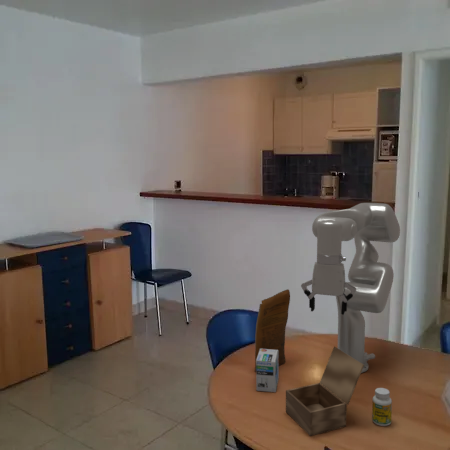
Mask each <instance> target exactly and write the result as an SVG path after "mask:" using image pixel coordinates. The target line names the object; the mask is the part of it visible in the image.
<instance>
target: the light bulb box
mask: <svg viewBox="0 0 450 450" xmlns="http://www.w3.org/2000/svg"><path fill="white" fill-rule="evenodd" d="M279 368H280V365H279V351H278V350H272V349H260V350H259V353H258V356H257V359H256V372H255V375H256V376H255V377H256V378H255V379H256V381H255V382H256V384H255V387H256V388H255V389H256V392H257V391H258V392H269V393H276V392H277V389H278V388H277V387H278V384H279V379H280V378H279V377H280V376H279V373H280V372H279Z"/></svg>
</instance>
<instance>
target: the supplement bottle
mask: <svg viewBox="0 0 450 450" xmlns="http://www.w3.org/2000/svg"><path fill="white" fill-rule="evenodd" d="M390 393H391V392H390V390H389V389H388V388H384V387H376V388H375V390H374V396H373V397H372V411H371V415H372V417H371V419H372V423H374V424H375V425H377V426H382V427H388V426H390V425H391V424H392V414H393V413H392V407H393V405H392V404H393V400H392V398H391V397H390V395H391V394H390Z"/></svg>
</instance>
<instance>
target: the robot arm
mask: <svg viewBox="0 0 450 450" xmlns="http://www.w3.org/2000/svg"><path fill="white" fill-rule="evenodd" d="M312 222H313V223H312V226H311V228H312V229H311V230H312V234H313V236H315V238H316V240H317V241H316V261H315V262H314V266H313V271H312V279H311V280H307V281H306V282H303V283H301V285H300V287H301V288H302V291H303V293H304V294H305V295H306V297H307V299H308V300H309V301H308V303H309V305H308V306H309V307H308V308H309V309H310V312H314V311H315V309H316V297H315V295H320V296H331V297H332V296H334V297H335V301H336V307H337V348H338V349H340V350H341V351H343V352H344V353H346V354H348V355H349V356H351V357H352V358H354V359H356V360H357V361H359V362H360V363H362V364H364V367H363V370H362V372H361V374H362V373H365V372H367V371H368V370H369V363H368V361H369V360H373V359H374V360H375V358H376V355H375V354H374V353H368V352H367V351H365V344H366V343H365V341H366V340H365V339H366V338H365V337H366V321H365V320H366V319H365V316H364V315H363V313H362V312H365V313H370V314H371V313H373V314H380V313H382V312H384V310H385V308H386V305H387V303H388V299H389V296H390V292H391V289H392V287H393V282H394V274H395V273H394V269H393V267H392V266H391V264H388V263H386V262H379V253H378V251H377V249H376V247H375V246H374V245H373V244H372V243H371V242H378V243H379V242H380V243H390V244H391V243H395V242H397V241H398V240H399V239H400V236H401V226H400V223H399V220H398V219H397V216H396V212H395V211H394V209H393V207H392V206H390V205H389V204H388V203H382V202H381V203H380V202H379V203H377V202H360V203H357V204H356V205H353V206H352V207H350V208H346V209H340V210H333V211H328V212H324V213H322V214H319V215H318V216H317V217H315V218H314V220H313V221H312ZM351 240H354V245H355V254H354V257H353V259H352V261H351V264H350V266H349V269H348V274H347V278H348V281H346V273H345V271H346V270H345V264H344V263H343V262H346V261H347V257H346V256H343V255H342V242H349V241H351ZM309 286H311V291H310V290H309V289H308V287H309Z"/></svg>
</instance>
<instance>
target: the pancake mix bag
mask: <svg viewBox="0 0 450 450" xmlns="http://www.w3.org/2000/svg"><path fill="white" fill-rule="evenodd" d="M290 303H291V292H290V289H289V288H288V289H284V290H282V291H280V292H278V293H276V294H274V295H273V296H270V297H267V298H264V299H263V300H261V303H259V308H258V311H257V318H256V324H255V336H254V341H255V342H254V345H255V346H254V347H255V348H254V350H255V351H254V363H255V365H254V366H255V367H254V372H255V373H256V359H257V356H258V353H259V350H260V349H272V350H278V351H279V366H281V365H284V364H285V363H286V355H285V345H286V327H287V323H288V318H289V309H290Z"/></svg>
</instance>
